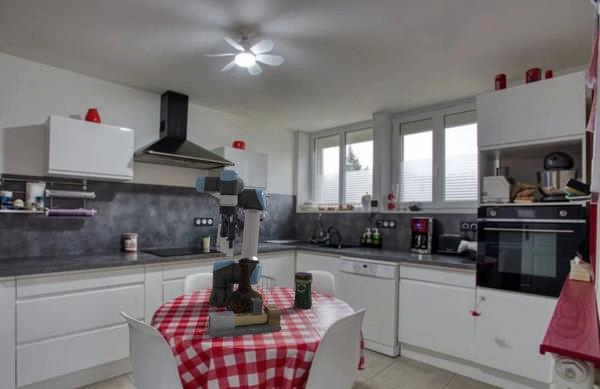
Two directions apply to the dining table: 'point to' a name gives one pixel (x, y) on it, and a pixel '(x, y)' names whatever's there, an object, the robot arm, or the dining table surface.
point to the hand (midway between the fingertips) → (226, 254)
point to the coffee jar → (303, 290)
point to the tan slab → (252, 314)
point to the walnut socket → (273, 315)
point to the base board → (245, 330)
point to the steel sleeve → (221, 321)
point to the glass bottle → (242, 291)
